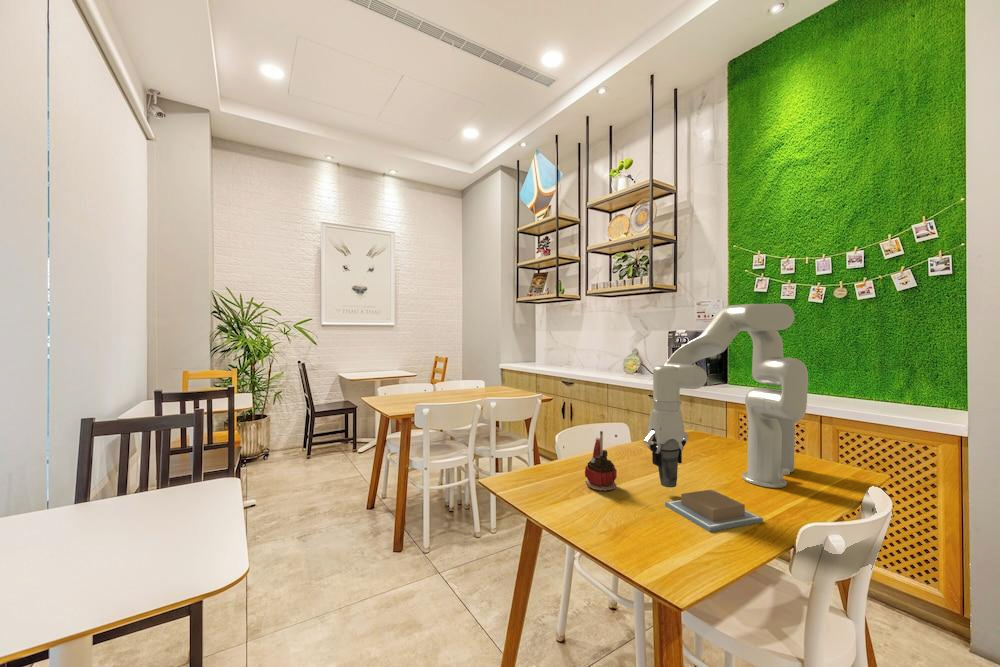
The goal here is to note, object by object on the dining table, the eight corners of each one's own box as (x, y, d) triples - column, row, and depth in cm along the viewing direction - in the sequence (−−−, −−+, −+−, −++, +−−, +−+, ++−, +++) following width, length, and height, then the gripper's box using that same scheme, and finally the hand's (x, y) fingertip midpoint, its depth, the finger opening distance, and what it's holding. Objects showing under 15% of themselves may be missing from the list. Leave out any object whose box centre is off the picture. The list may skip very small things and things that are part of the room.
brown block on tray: (713, 498, 122) (713, 485, 122) (762, 522, 107) (763, 507, 107) (665, 505, 117) (665, 491, 117) (709, 531, 101) (709, 516, 101)
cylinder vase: (756, 470, 147) (757, 402, 147) (751, 461, 159) (752, 397, 158) (797, 476, 142) (798, 405, 142) (789, 465, 153) (790, 400, 153)
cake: (611, 495, 124) (611, 436, 124) (581, 489, 128) (582, 432, 128) (619, 484, 133) (619, 429, 133) (591, 478, 138) (592, 426, 137)
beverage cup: (685, 488, 121) (682, 422, 120) (661, 490, 121) (658, 424, 120) (675, 479, 128) (672, 416, 127) (652, 480, 128) (649, 418, 127)
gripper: (680, 401, 130) (680, 456, 130) (634, 406, 125) (635, 463, 125) (698, 406, 123) (699, 464, 123) (651, 410, 118) (651, 471, 118)
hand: (667, 463), depth 124 cm, fingers closed on beverage cup, 6 cm apart
